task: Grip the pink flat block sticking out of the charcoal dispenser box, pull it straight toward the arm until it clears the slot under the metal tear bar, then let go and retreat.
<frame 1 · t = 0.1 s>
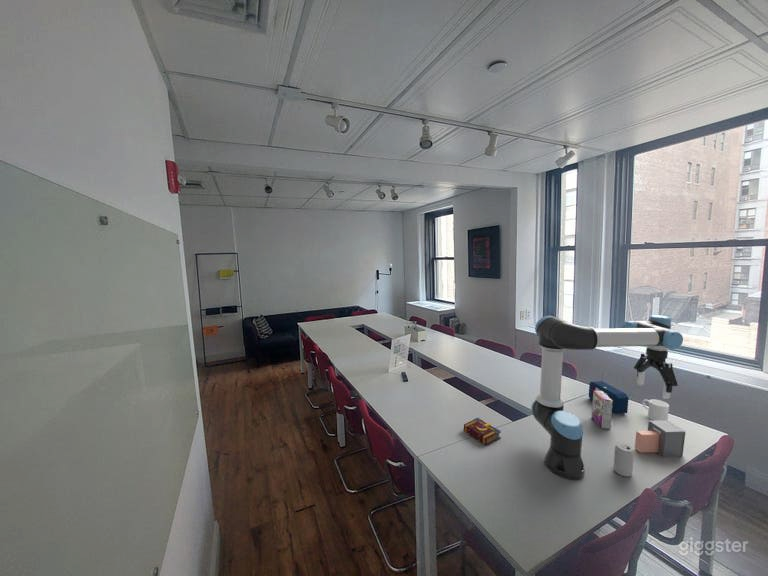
hand: (652, 391, 144), 28 cm above the table, fingers open, 13 cm apart
candy bar box: (600, 423, 166), on the table
radio: (606, 406, 183), on the table
mug: (653, 417, 171), on the table
beverage can: (622, 472, 131), on the table
decorative book: (480, 435, 159), on the table
pink flat block: (654, 441, 143), point 5 cm above the table, slide at 0.0 cm
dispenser: (663, 450, 144), on the table
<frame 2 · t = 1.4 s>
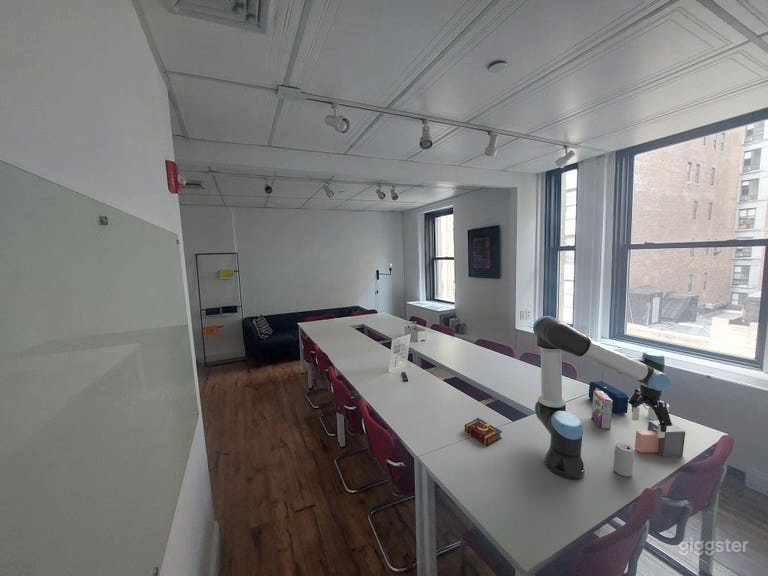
hand: (647, 428, 142), 12 cm above the table, fingers open, 13 cm apart
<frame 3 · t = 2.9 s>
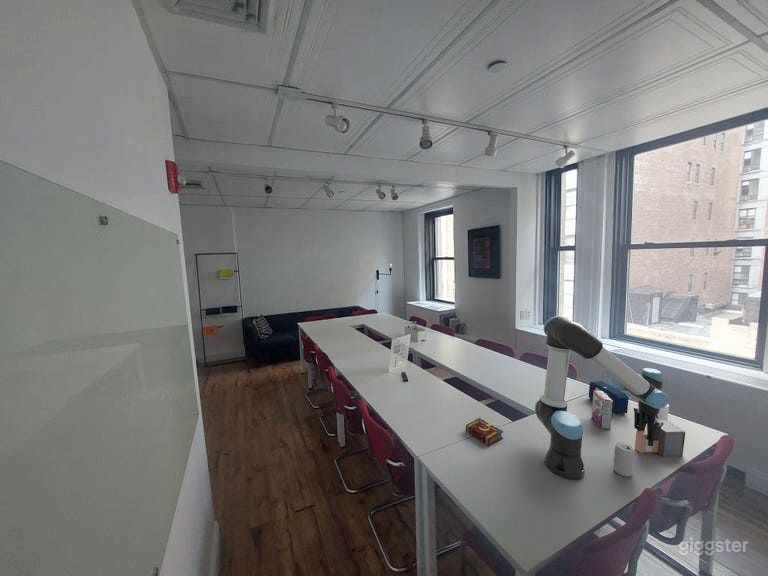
hand: (644, 448, 143), 1 cm above the table, fingers closed on pink flat block, 3 cm apart
pink flat block: (654, 441, 143), point 5 cm above the table, slide at 0.0 cm, touching gripper
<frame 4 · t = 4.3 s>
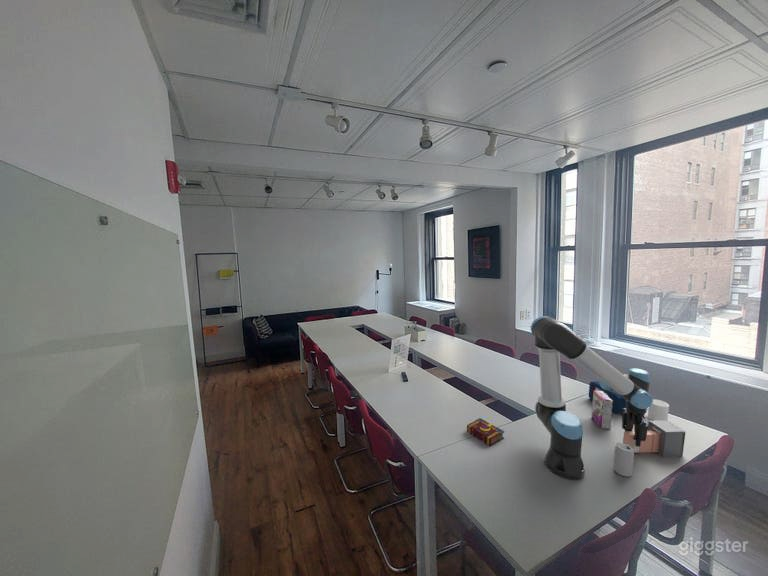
hand: (631, 448, 143), 1 cm above the table, fingers closed on pink flat block, 3 cm apart
pink flat block: (642, 441, 143), point 5 cm above the table, slide at 6.0 cm, touching gripper
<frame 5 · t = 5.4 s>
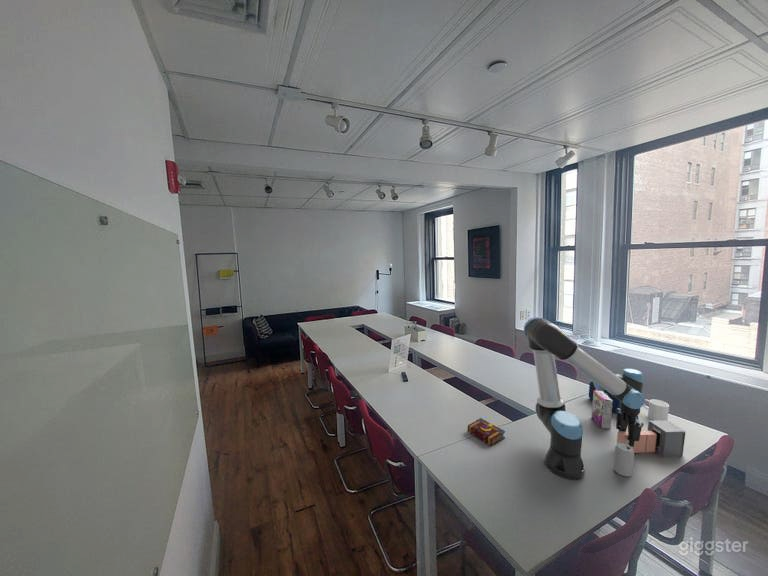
hand: (625, 448, 143), 1 cm above the table, fingers closed on pink flat block, 3 cm apart
pink flat block: (636, 441, 143), point 5 cm above the table, slide at 9.0 cm, touching gripper
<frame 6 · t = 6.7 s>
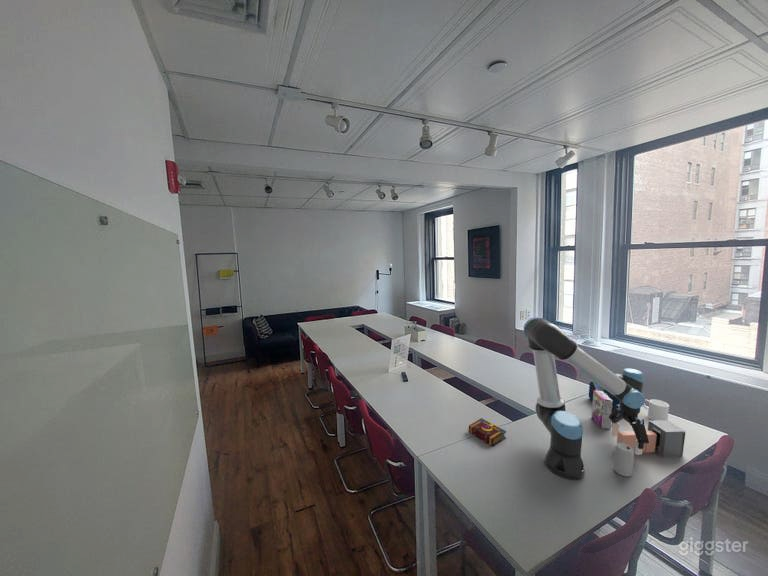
hand: (625, 444, 143), 4 cm above the table, fingers open, 13 cm apart
pink flat block: (636, 441, 143), point 5 cm above the table, slide at 9.0 cm
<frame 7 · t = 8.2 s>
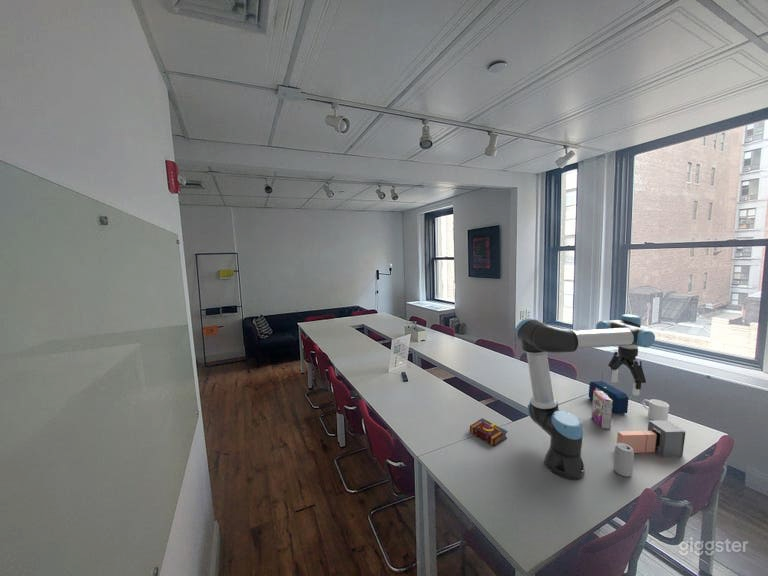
hand: (624, 388, 149), 27 cm above the table, fingers open, 13 cm apart
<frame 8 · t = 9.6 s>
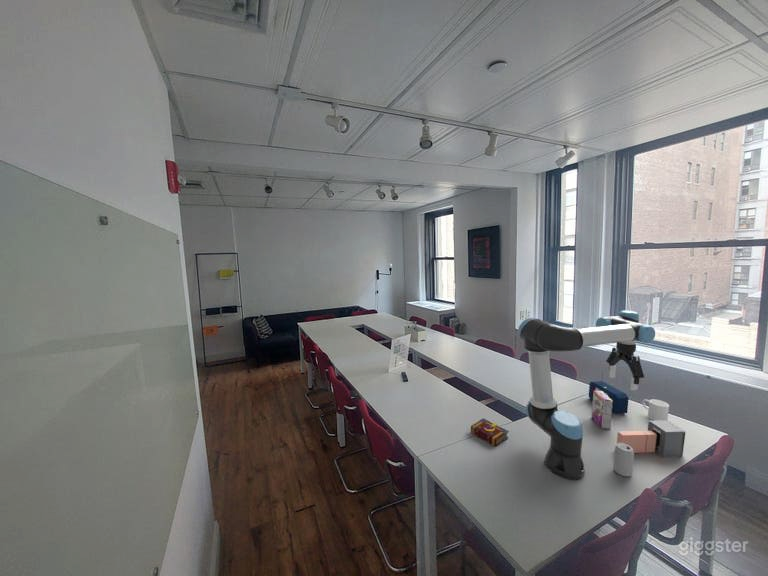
hand: (622, 383, 151), 29 cm above the table, fingers open, 13 cm apart
at the end: pink flat block slide at 9.0 cm; the gripper is holding nothing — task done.
